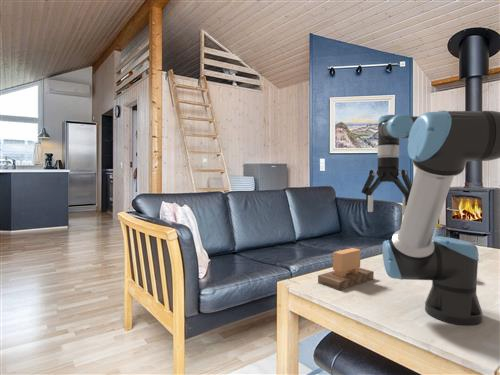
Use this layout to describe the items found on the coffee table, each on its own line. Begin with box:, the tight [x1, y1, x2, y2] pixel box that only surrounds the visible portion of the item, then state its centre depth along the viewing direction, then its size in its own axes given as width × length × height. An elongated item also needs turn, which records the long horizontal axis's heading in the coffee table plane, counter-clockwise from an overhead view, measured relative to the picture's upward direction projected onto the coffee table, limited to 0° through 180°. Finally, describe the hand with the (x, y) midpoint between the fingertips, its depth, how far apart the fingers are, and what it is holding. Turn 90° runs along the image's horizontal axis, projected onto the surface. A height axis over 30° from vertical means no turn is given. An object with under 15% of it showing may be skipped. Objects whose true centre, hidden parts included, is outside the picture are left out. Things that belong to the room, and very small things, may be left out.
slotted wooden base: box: [317, 267, 375, 291], centre depth 136 cm, size 22×10×3 cm, turn 127°
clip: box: [332, 247, 362, 278], centre depth 135 cm, size 12×4×12 cm, turn 127°
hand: (386, 213), depth 130 cm, fingers open, 13 cm apart
